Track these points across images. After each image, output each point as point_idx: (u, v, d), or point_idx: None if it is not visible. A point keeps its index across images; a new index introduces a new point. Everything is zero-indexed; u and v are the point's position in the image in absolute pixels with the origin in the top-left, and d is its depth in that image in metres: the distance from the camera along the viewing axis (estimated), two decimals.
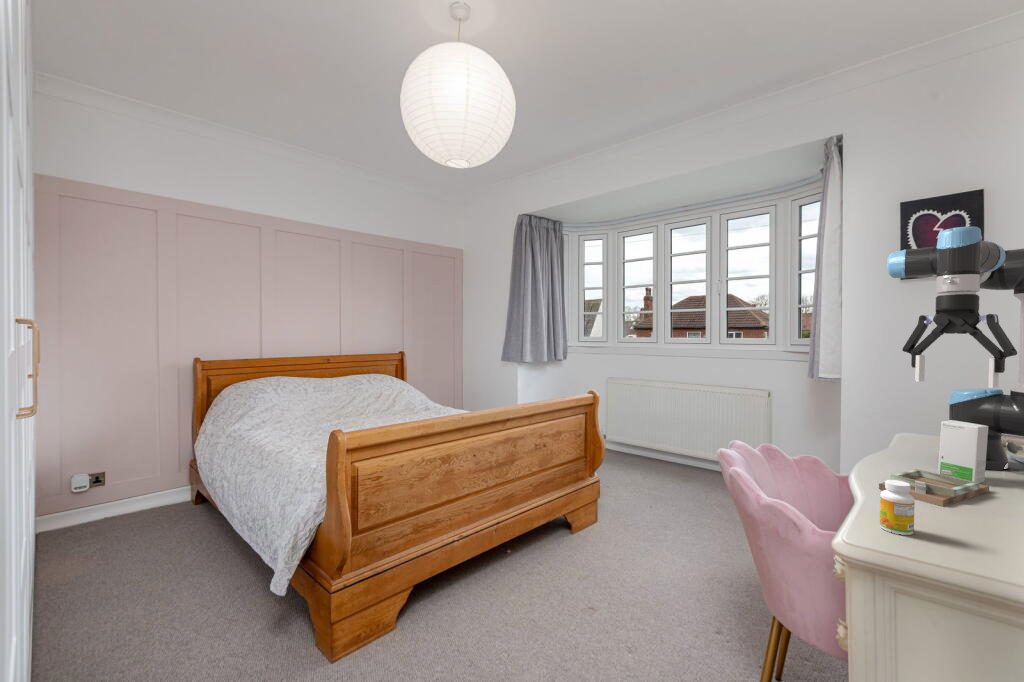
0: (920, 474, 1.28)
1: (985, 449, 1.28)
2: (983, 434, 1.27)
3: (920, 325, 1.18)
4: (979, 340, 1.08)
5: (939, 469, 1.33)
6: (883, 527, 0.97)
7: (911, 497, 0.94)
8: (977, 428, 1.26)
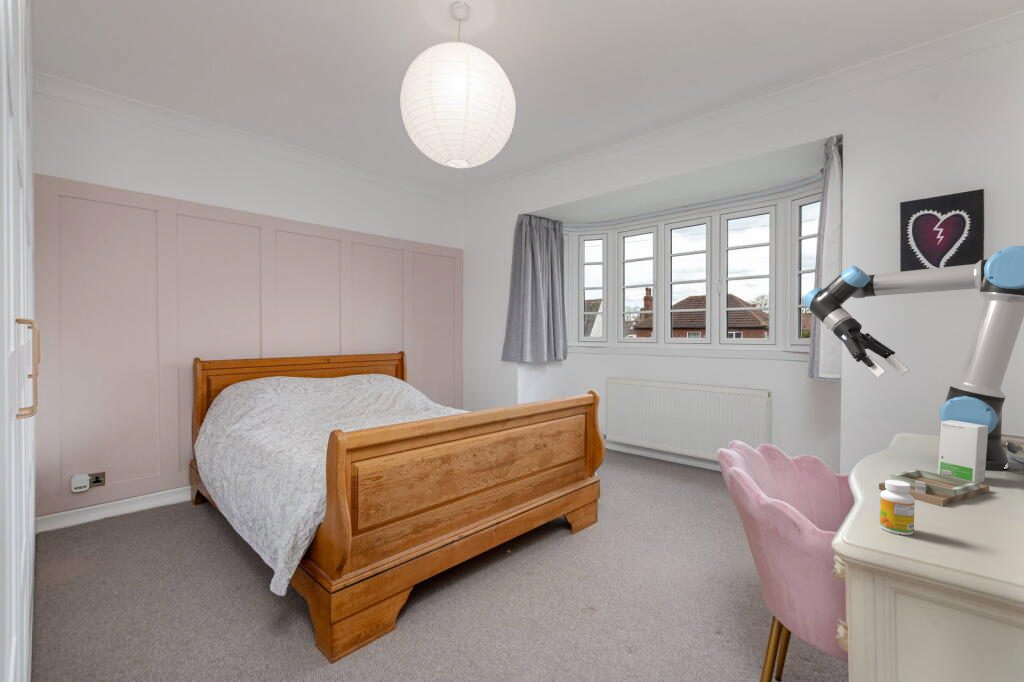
0: (920, 474, 1.28)
1: (985, 449, 1.28)
2: (983, 434, 1.27)
3: None
4: None
5: (939, 469, 1.33)
6: (883, 527, 0.97)
7: (911, 497, 0.94)
8: (977, 428, 1.26)
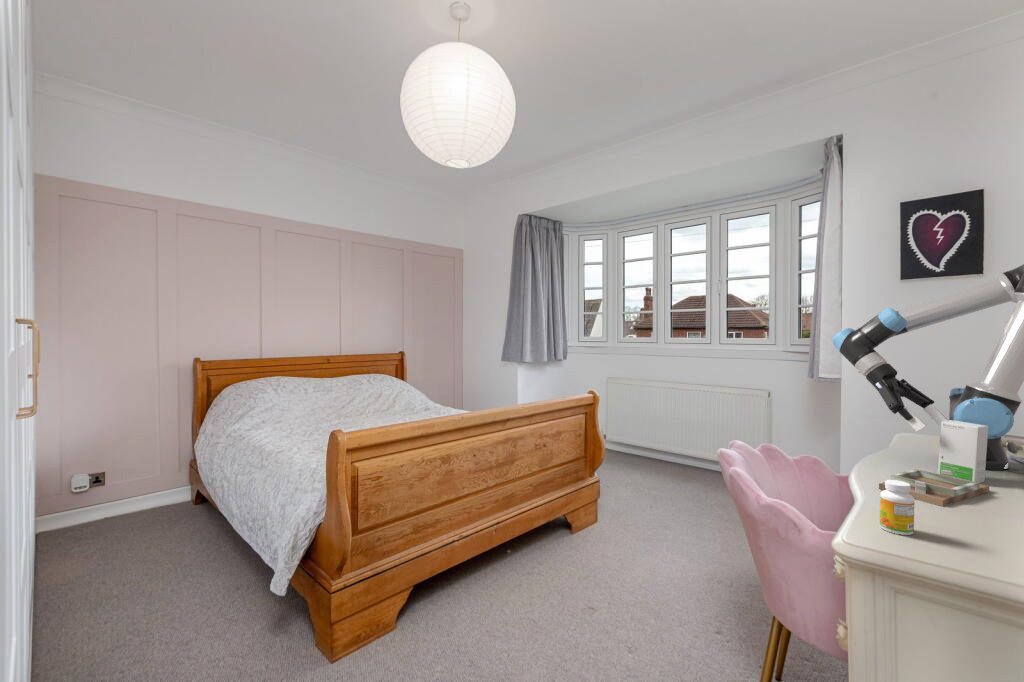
0: (920, 474, 1.28)
1: (985, 449, 1.28)
2: (983, 434, 1.27)
3: None
4: None
5: (939, 469, 1.33)
6: (883, 527, 0.97)
7: (911, 497, 0.94)
8: (977, 428, 1.26)
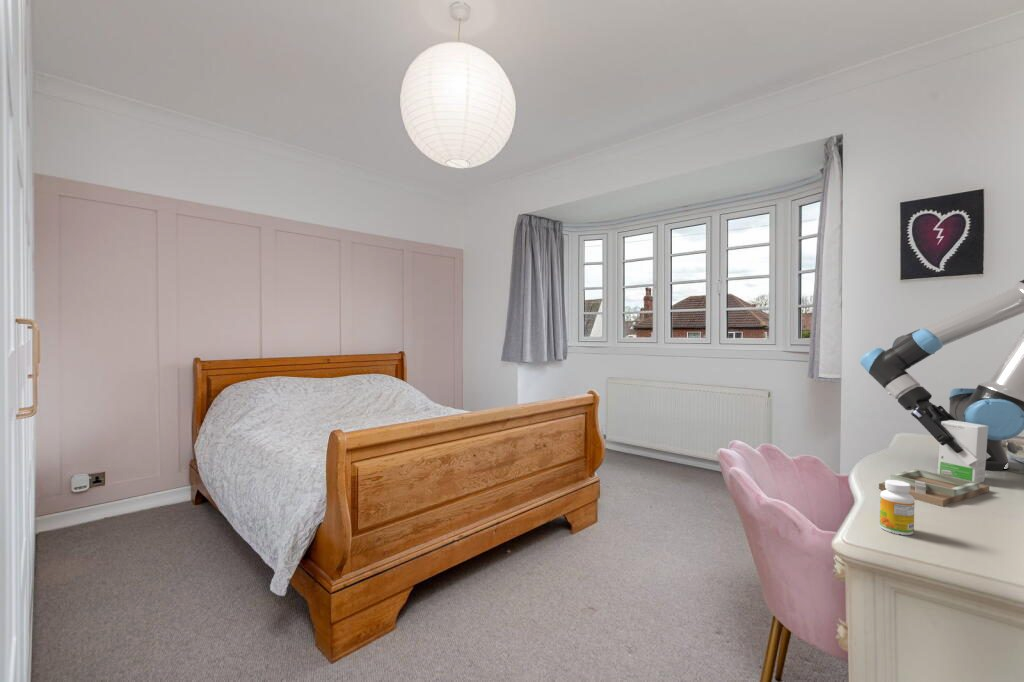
0: (920, 474, 1.28)
1: (985, 449, 1.28)
2: (983, 434, 1.27)
3: None
4: None
5: (939, 469, 1.33)
6: (883, 527, 0.97)
7: (911, 497, 0.94)
8: (977, 428, 1.26)
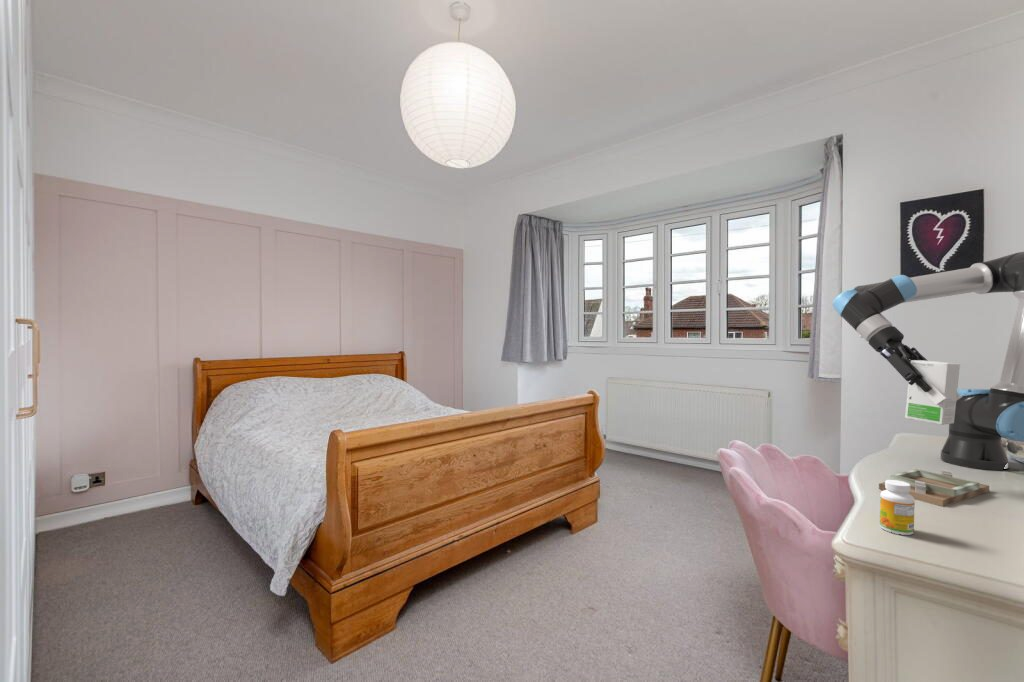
0: (920, 474, 1.28)
1: (955, 388, 1.20)
2: (953, 372, 1.19)
3: None
4: None
5: (907, 411, 1.25)
6: (883, 527, 0.97)
7: (911, 497, 0.94)
8: (946, 364, 1.18)
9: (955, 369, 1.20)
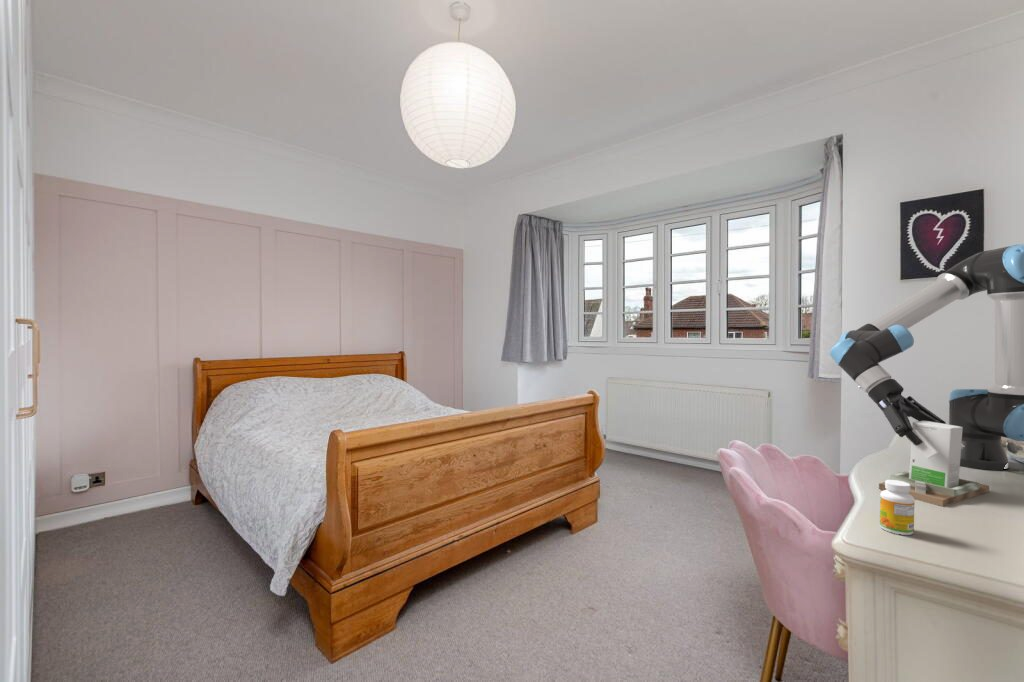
0: None
1: (958, 451, 1.18)
2: (956, 436, 1.18)
3: None
4: None
5: (910, 473, 1.23)
6: (883, 527, 0.97)
7: (911, 497, 0.94)
8: (950, 429, 1.16)
9: (958, 433, 1.18)
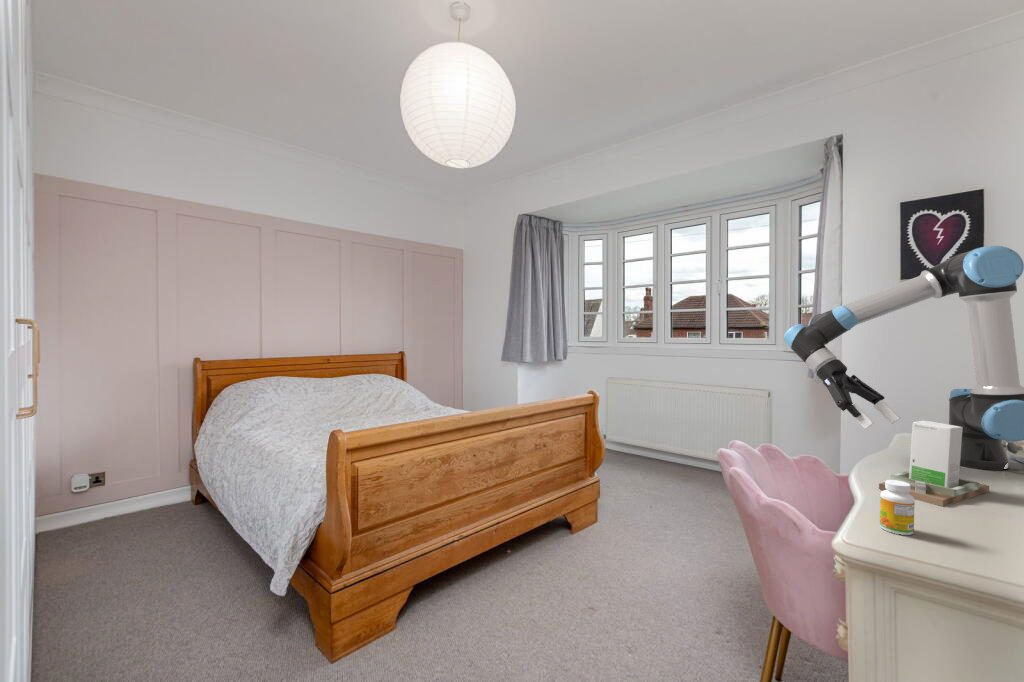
0: None
1: (958, 451, 1.18)
2: (956, 436, 1.18)
3: None
4: None
5: (910, 473, 1.23)
6: (883, 527, 0.97)
7: (911, 497, 0.94)
8: (950, 429, 1.16)
9: (958, 433, 1.18)
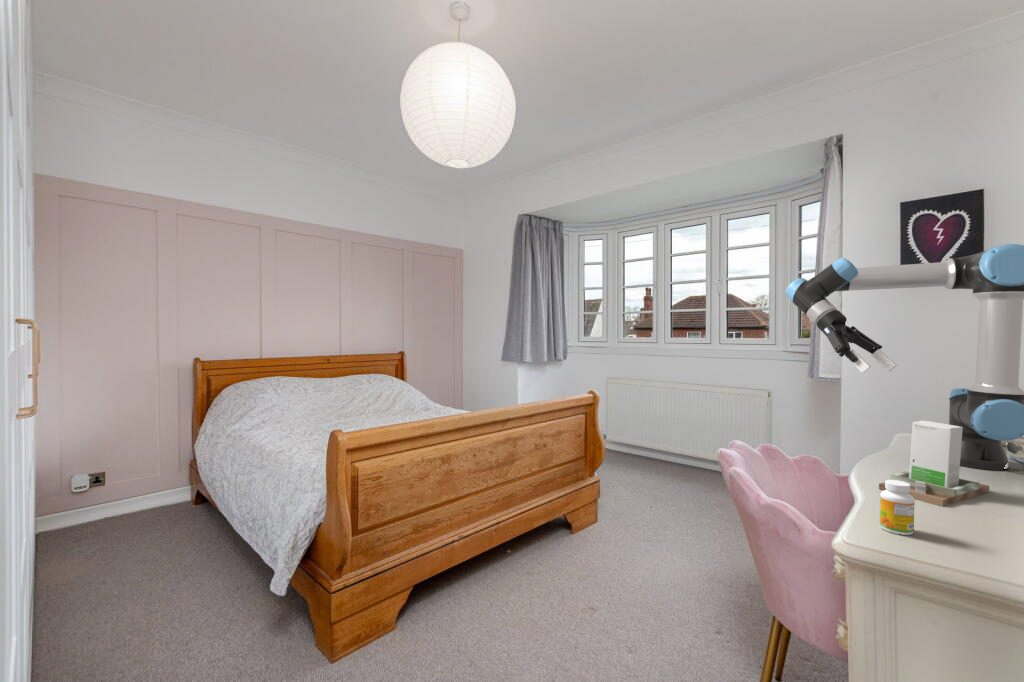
0: None
1: (958, 451, 1.18)
2: (956, 436, 1.18)
3: None
4: None
5: (910, 473, 1.23)
6: (883, 527, 0.97)
7: (911, 497, 0.94)
8: (950, 429, 1.16)
9: (958, 433, 1.18)
